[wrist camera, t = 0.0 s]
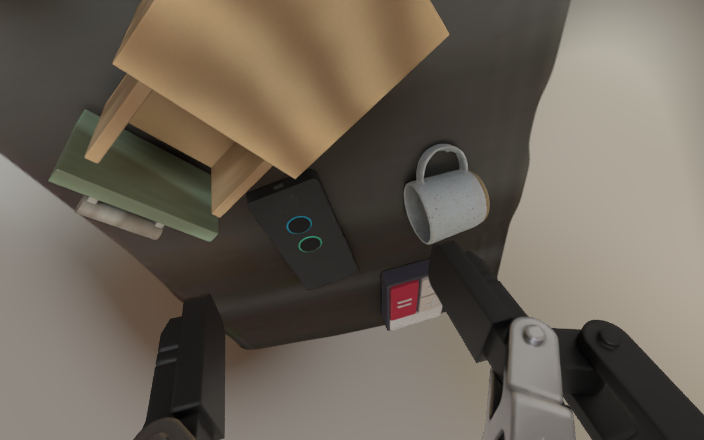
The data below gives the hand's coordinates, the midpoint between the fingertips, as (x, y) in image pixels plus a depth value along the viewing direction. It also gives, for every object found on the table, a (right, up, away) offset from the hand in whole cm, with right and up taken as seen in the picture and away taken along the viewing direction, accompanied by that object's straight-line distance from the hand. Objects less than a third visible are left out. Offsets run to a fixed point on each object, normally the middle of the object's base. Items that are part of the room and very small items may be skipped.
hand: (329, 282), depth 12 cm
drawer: (-14, +10, +16) cm, 23 cm away
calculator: (+11, -10, +49) cm, 52 cm away
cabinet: (-5, +18, +12) cm, 23 cm away
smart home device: (-5, 0, +32) cm, 32 cm away
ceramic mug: (+11, +8, +31) cm, 33 cm away
